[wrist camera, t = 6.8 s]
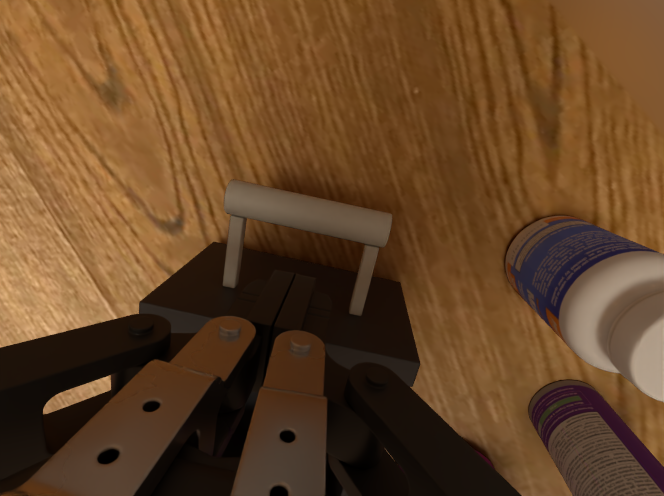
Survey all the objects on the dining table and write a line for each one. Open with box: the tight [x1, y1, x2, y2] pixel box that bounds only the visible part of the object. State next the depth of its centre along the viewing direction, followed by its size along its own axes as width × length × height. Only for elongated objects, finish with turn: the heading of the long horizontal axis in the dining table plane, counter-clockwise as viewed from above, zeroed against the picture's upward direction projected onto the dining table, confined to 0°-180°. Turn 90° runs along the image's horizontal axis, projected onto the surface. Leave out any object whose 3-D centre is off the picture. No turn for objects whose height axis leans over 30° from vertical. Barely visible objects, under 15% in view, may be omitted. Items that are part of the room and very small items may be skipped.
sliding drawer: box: [139, 179, 420, 496], centre depth 20 cm, size 18×11×8 cm, turn 168°
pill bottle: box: [505, 216, 664, 402], centre depth 17 cm, size 5×5×10 cm
